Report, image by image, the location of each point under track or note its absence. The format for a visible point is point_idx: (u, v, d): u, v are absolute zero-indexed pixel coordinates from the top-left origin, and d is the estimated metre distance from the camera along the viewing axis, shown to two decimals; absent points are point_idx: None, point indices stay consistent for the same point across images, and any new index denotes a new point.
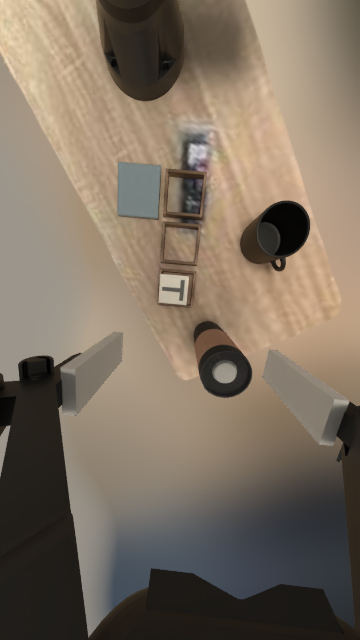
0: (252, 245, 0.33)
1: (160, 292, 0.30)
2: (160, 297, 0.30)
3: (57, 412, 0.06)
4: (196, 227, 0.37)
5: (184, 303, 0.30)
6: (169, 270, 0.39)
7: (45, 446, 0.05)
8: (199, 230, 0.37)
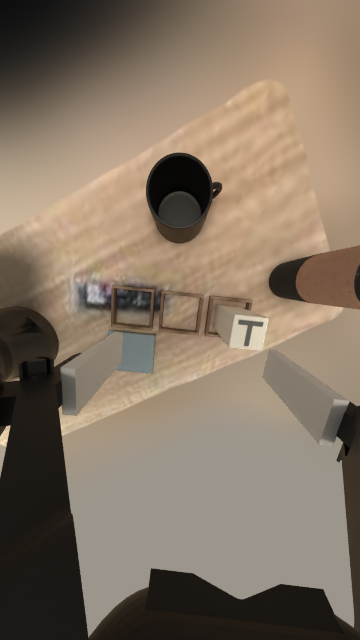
0: (191, 231, 0.27)
1: (250, 347, 0.25)
2: (256, 348, 0.25)
3: (57, 412, 0.06)
4: (164, 295, 0.34)
5: (266, 320, 0.24)
6: (208, 325, 0.35)
7: (45, 446, 0.05)
8: (167, 292, 0.34)
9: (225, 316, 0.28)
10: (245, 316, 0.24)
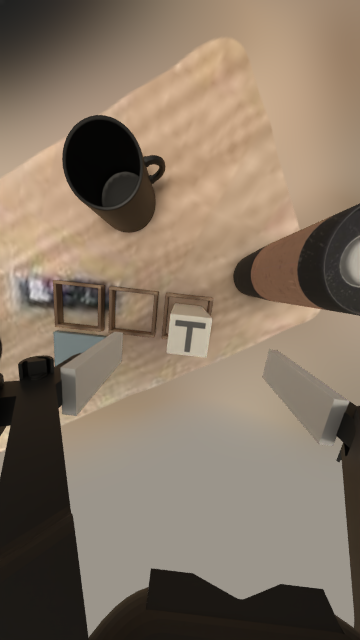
0: (128, 214, 0.23)
1: (192, 354, 0.21)
2: (199, 354, 0.21)
3: (57, 412, 0.06)
4: (113, 292, 0.30)
5: (209, 320, 0.20)
6: (164, 326, 0.31)
7: (45, 446, 0.05)
8: (116, 288, 0.30)
9: None
10: (183, 316, 0.20)
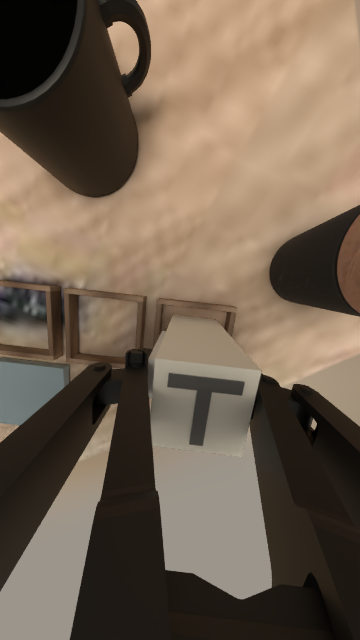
0: (73, 139, 0.11)
1: (208, 448, 0.09)
2: (225, 450, 0.09)
3: (148, 398, 0.07)
4: (71, 297, 0.18)
5: (254, 376, 0.08)
6: None
7: (139, 423, 0.06)
8: (74, 291, 0.18)
9: None
10: (189, 364, 0.08)
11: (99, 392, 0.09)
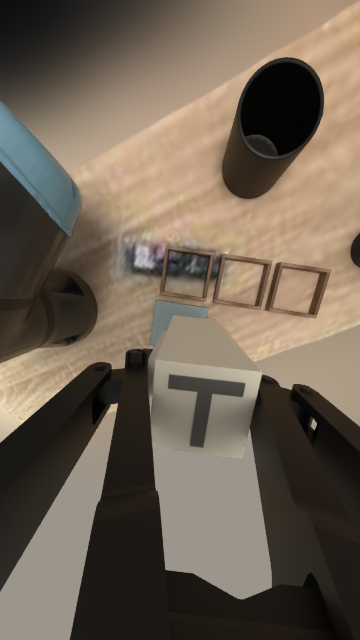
0: (280, 170, 0.22)
1: (208, 450, 0.09)
2: (225, 451, 0.09)
3: (148, 398, 0.07)
4: None
5: (255, 377, 0.08)
6: (273, 298, 0.30)
7: (139, 423, 0.06)
8: (229, 256, 0.29)
9: None
10: (189, 365, 0.08)
11: (99, 392, 0.09)
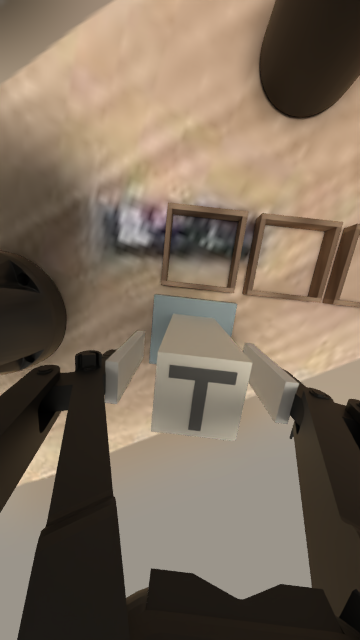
0: None
1: (205, 434, 0.10)
2: (220, 435, 0.10)
3: (103, 402, 0.07)
4: None
5: (246, 367, 0.09)
6: (341, 284, 0.19)
7: (93, 430, 0.05)
8: (273, 216, 0.18)
9: None
10: (187, 356, 0.09)
11: (42, 398, 0.08)
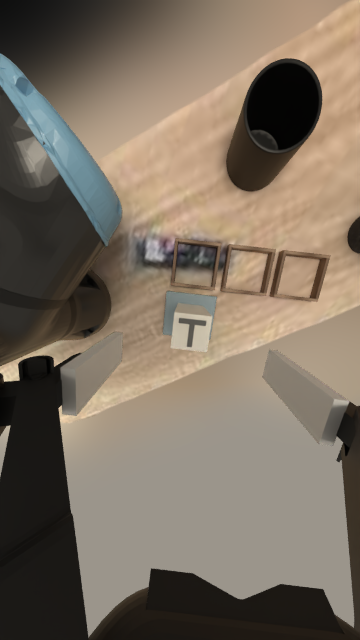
0: (282, 163, 0.24)
1: (194, 349, 0.23)
2: (200, 349, 0.23)
3: (57, 412, 0.06)
4: (230, 250, 0.31)
5: (210, 318, 0.22)
6: (277, 284, 0.32)
7: (45, 445, 0.05)
8: (235, 246, 0.31)
9: None
10: (186, 314, 0.22)
11: None
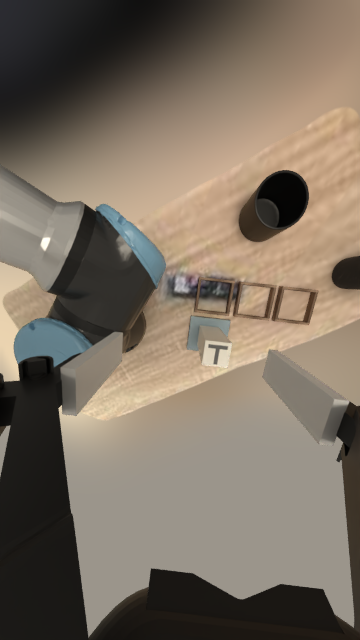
0: (281, 231, 0.33)
1: (218, 365, 0.32)
2: (223, 366, 0.32)
3: (57, 412, 0.06)
4: None
5: (230, 344, 0.31)
6: (278, 312, 0.41)
7: (45, 446, 0.05)
8: (245, 283, 0.40)
9: (202, 338, 0.35)
10: (213, 341, 0.31)
11: None
